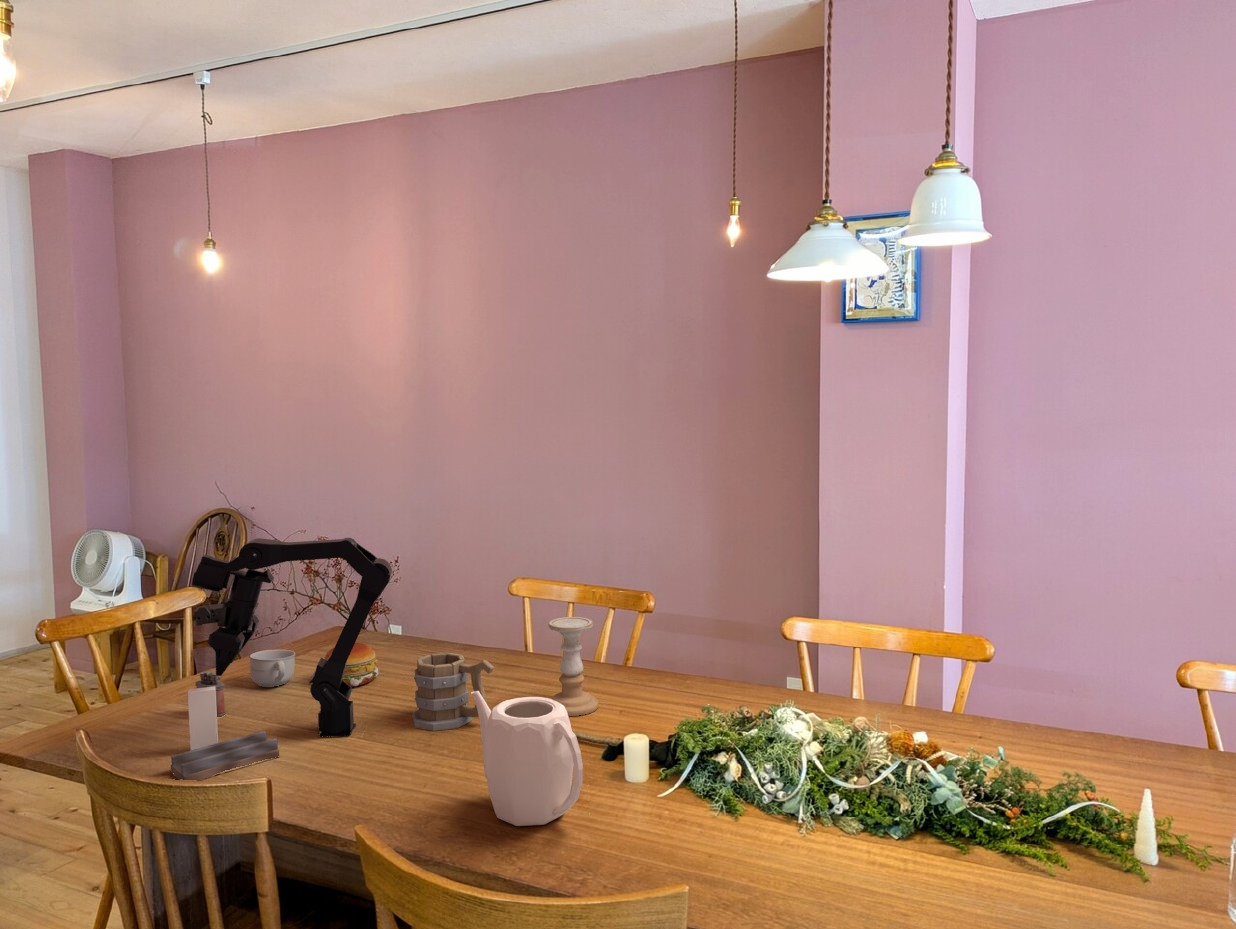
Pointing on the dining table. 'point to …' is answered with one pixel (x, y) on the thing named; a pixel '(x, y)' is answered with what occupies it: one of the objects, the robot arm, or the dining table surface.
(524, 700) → the watering can
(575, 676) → the candle holder
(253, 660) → the teacup
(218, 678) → the lighter
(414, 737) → the dining table surface
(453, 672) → the tankard
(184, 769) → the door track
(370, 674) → the burger
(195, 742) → the door panel
